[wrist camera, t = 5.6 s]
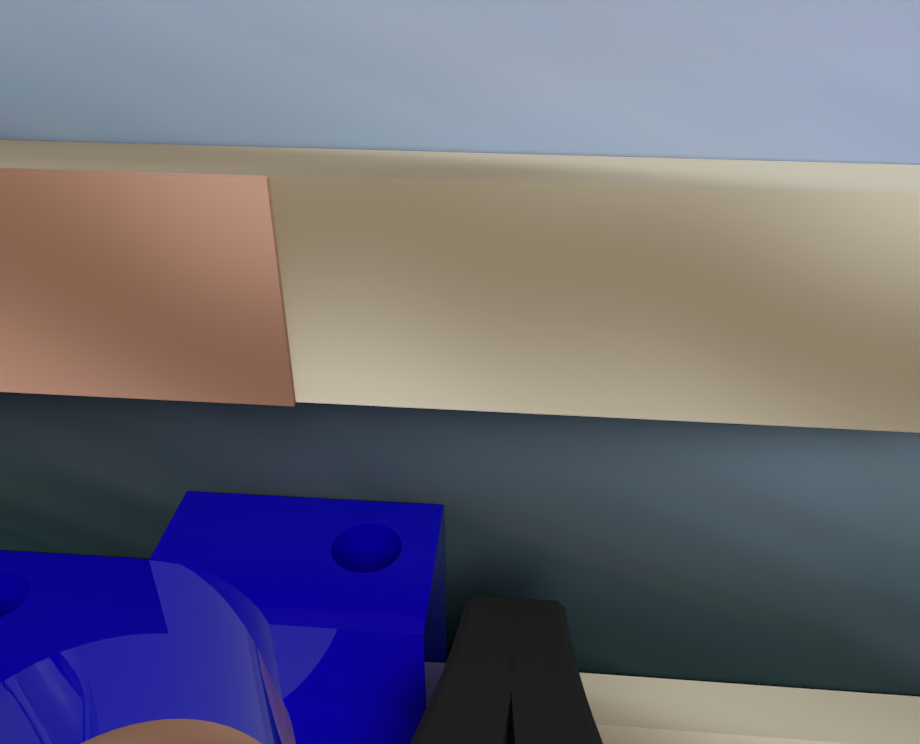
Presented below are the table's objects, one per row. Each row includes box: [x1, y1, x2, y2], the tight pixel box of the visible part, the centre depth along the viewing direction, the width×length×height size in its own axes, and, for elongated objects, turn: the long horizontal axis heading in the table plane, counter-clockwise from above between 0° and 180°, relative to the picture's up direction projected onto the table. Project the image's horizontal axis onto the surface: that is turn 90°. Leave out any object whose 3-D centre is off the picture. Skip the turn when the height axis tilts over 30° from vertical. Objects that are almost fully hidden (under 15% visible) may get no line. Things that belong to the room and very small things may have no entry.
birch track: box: [0, 140, 920, 744], centre depth 13 cm, size 12×21×1 cm, turn 90°
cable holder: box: [0, 491, 447, 744], centre depth 13 cm, size 8×4×4 cm, turn 91°
